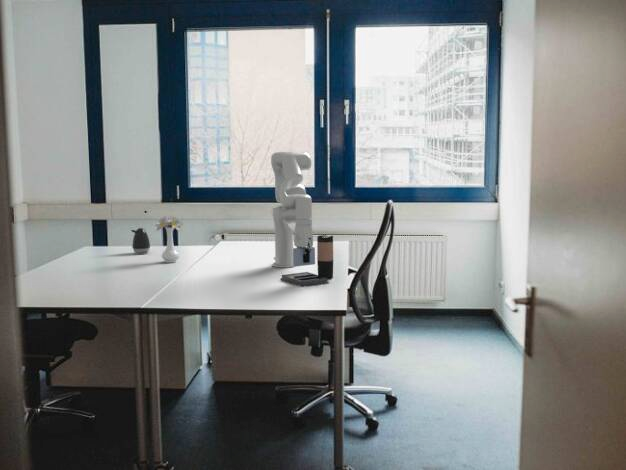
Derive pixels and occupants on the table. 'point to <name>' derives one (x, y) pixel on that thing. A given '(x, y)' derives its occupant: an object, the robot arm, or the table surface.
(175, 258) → the flower vase
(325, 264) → the travel mug
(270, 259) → the table surface
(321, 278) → the rack
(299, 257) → the panel
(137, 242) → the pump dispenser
